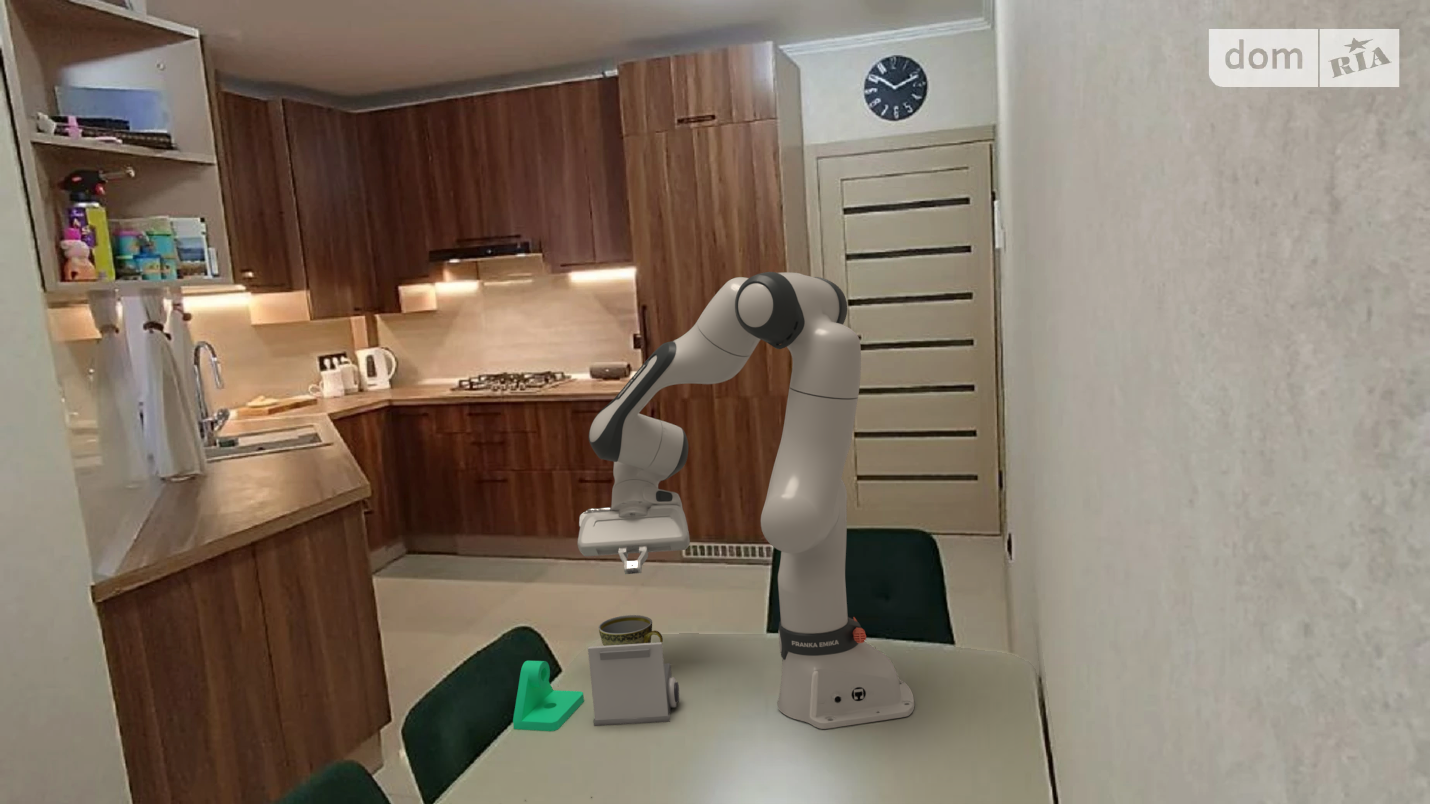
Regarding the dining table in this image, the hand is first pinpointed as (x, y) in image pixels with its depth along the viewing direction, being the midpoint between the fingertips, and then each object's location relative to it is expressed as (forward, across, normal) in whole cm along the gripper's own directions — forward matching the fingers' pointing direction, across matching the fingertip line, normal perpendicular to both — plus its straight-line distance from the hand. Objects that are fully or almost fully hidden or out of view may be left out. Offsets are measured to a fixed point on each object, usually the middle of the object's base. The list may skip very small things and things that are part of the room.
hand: (632, 572), depth 163 cm
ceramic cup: (+11, -2, +20) cm, 23 cm away
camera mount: (+23, -14, +9) cm, 28 cm away
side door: (+25, 0, +4) cm, 25 cm away
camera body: (+22, 0, +8) cm, 24 cm away
